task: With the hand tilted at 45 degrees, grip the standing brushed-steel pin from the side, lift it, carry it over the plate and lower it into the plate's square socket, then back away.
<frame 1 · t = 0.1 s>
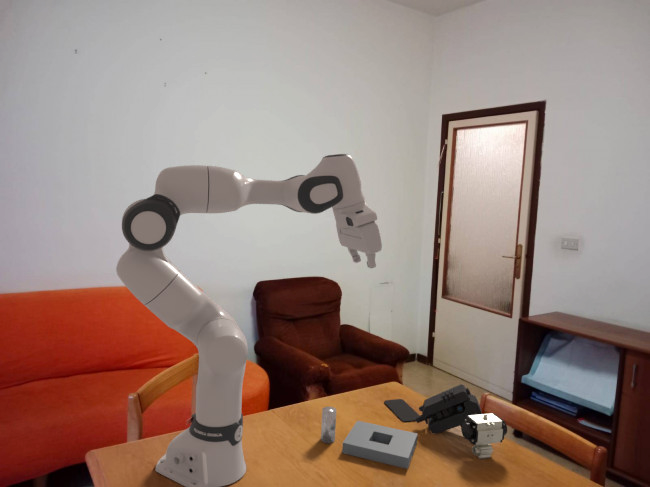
hand: (364, 264, 127), 52 cm above the table, tool tilted 20°, fingers open, 8 cm apart
phone: (402, 412, 158), on the table
tool: (449, 432, 145), on the table
pneumatic valve: (482, 457, 132), on the table
steel pin: (327, 439, 137), on the table
socket plate: (380, 448, 134), on the table
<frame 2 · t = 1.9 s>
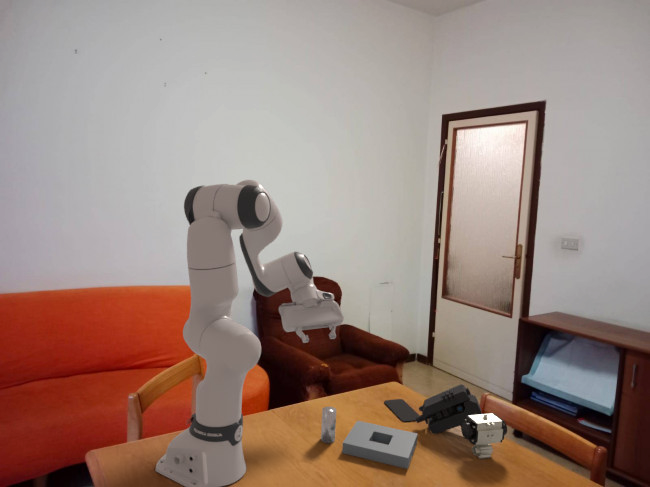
hand: (320, 339, 146), 26 cm above the table, tool tilted 45°, fingers open, 8 cm apart
nothing on the table moved.
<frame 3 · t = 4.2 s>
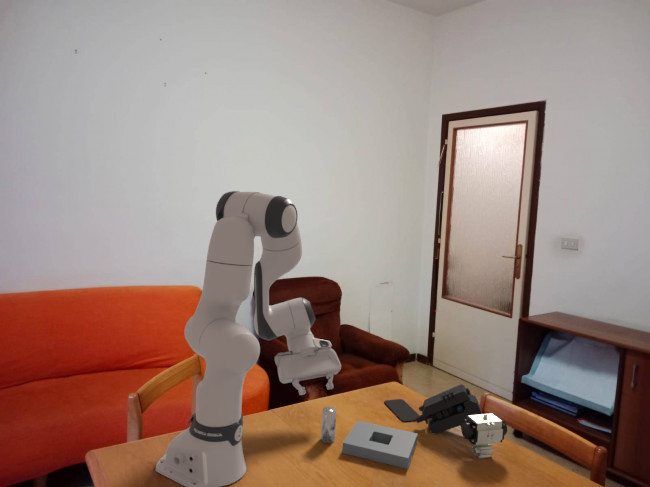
hand: (317, 391, 142), 11 cm above the table, tool tilted 45°, fingers open, 8 cm apart
nothing on the table moved.
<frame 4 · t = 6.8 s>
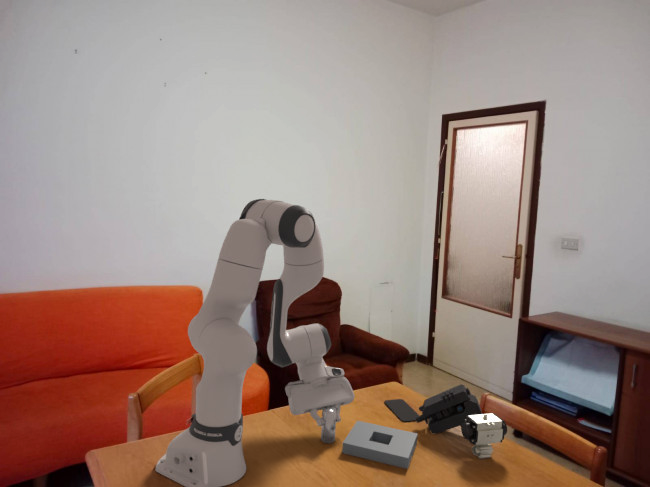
hand: (329, 423, 136), 5 cm above the table, tool tilted 45°, fingers closed on steel pin, 4 cm apart
steel pin: (327, 439, 137), on the table, touching gripper
everything else where it was.
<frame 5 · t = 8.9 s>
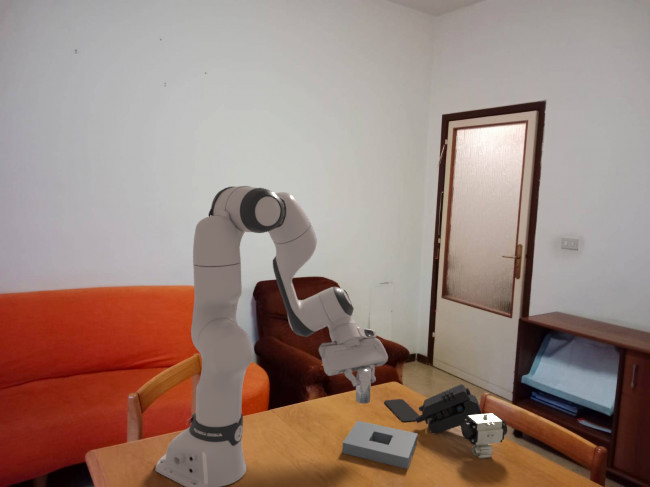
hand: (365, 383, 133), 18 cm above the table, tool tilted 45°, fingers closed on steel pin, 4 cm apart
steel pin: (362, 400, 135), point 13 cm above the table, touching gripper
everything else where it was.
when the fingers open (7 cm above the table, at t = 11.2 s): steel pin drops 2 cm, resting in socket plate.
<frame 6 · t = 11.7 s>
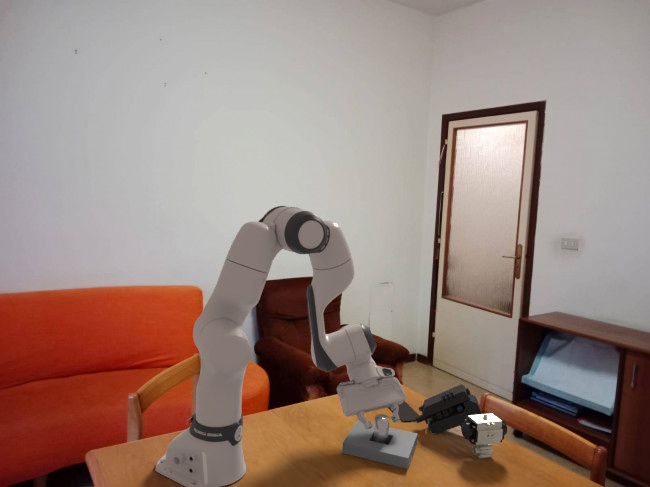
hand: (383, 424, 133), 7 cm above the table, tool tilted 45°, fingers open, 8 cm apart
steel pin: (380, 448, 134), resting in socket plate
everything else where it was.
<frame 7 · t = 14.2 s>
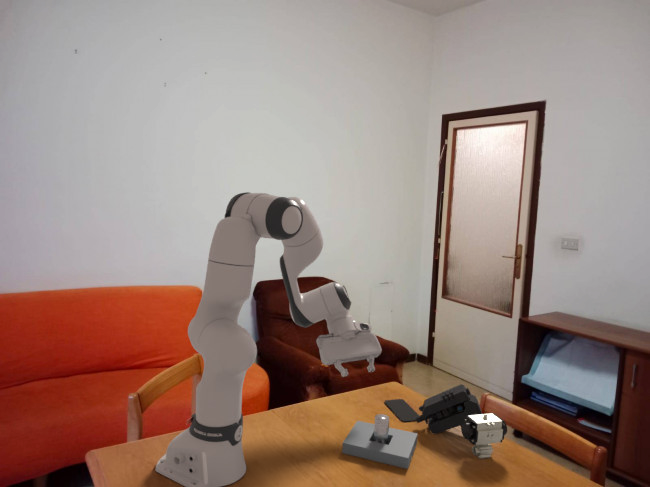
hand: (359, 373, 143), 17 cm above the table, tool tilted 45°, fingers open, 8 cm apart
nothing on the table moved.
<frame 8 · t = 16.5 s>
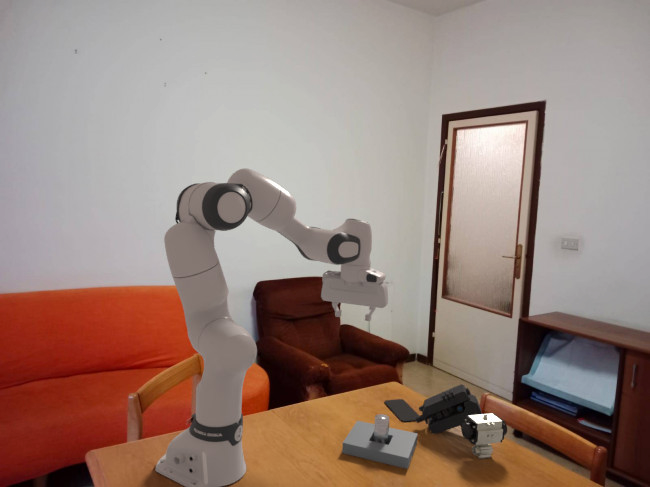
hand: (352, 318, 144), 33 cm above the table, tool pointing down, fingers open, 8 cm apart
nothing on the table moved.
at the end: steel pin 0.1 cm off-centre on the socket plate, point 0.0 cm above the socket plate's base; steel pin tilted 0°; the gripper is holding nothing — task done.
